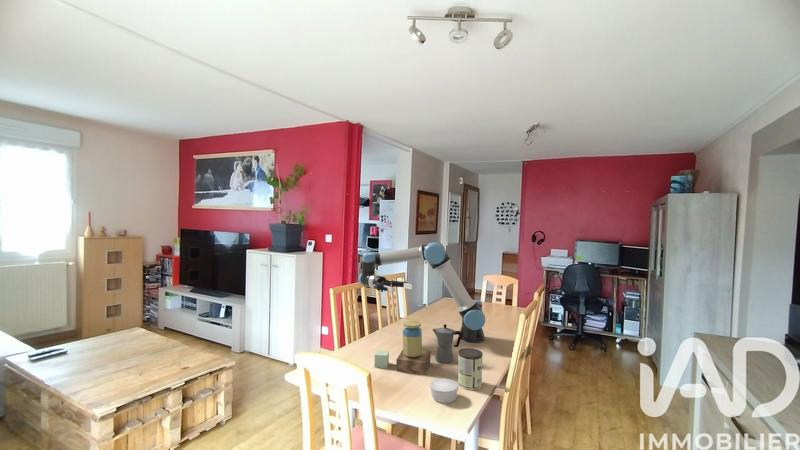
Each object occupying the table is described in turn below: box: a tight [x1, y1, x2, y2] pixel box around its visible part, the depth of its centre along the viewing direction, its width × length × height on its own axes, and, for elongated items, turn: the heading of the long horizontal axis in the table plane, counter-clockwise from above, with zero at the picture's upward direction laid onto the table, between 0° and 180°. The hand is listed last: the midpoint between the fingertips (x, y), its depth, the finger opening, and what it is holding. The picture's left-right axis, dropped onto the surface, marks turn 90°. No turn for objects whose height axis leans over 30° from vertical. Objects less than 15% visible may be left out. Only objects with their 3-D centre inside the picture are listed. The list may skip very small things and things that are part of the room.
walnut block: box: [395, 349, 431, 375], centre depth 167 cm, size 14×14×6 cm
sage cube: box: [374, 349, 390, 369], centre depth 168 cm, size 6×6×6 cm
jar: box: [402, 320, 423, 357], centre depth 166 cm, size 9×9×15 cm
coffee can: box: [457, 347, 483, 391], centre depth 149 cm, size 10×10×14 cm
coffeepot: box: [432, 323, 462, 364], centre depth 175 cm, size 15×9×18 cm, turn 68°
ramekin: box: [429, 378, 459, 404], centre depth 138 cm, size 11×11×5 cm
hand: (402, 288), depth 179 cm, fingers open, 13 cm apart
